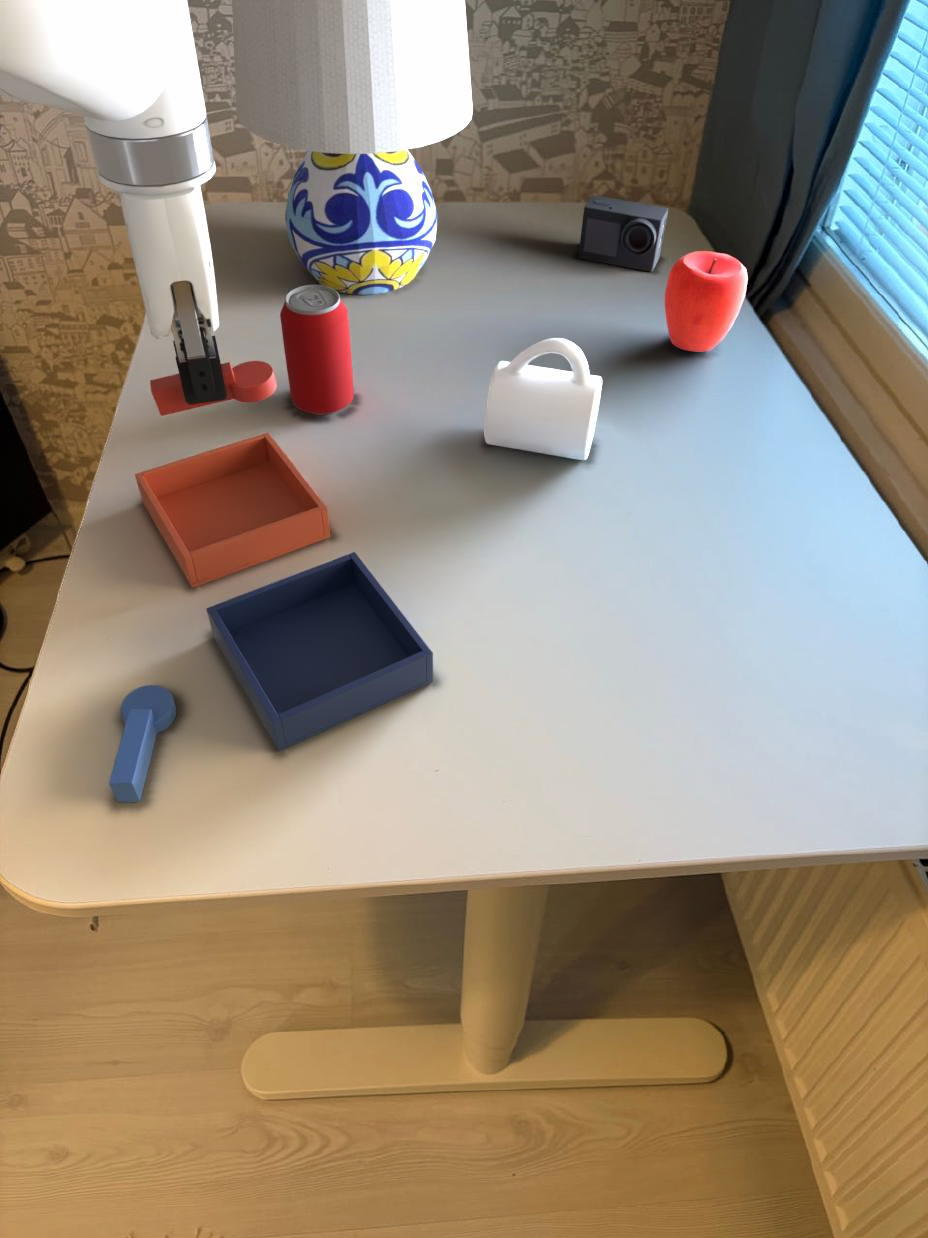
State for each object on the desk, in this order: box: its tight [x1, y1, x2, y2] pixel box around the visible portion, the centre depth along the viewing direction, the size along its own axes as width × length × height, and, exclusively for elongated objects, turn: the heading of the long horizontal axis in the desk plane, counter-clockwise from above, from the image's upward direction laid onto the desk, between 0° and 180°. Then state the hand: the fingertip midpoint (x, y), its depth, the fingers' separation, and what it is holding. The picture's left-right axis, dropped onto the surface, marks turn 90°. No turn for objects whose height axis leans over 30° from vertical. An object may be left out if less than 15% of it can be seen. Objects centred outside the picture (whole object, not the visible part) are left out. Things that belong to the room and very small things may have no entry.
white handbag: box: [483, 337, 603, 461], centre depth 90 cm, size 8×10×12 cm
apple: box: [664, 250, 749, 353], centre depth 104 cm, size 9×9×11 cm
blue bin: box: [205, 551, 434, 752], centre depth 72 cm, size 13×13×4 cm
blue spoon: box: [108, 684, 177, 803], centre depth 67 cm, size 10×4×2 cm, turn 2°
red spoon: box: [149, 360, 278, 417], centre depth 73 cm, size 10×4×2 cm, turn 106°
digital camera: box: [578, 194, 669, 273], centre depth 121 cm, size 10×5×7 cm, turn 70°
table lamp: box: [231, 0, 474, 296], centre depth 105 cm, size 27×27×40 cm
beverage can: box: [279, 284, 355, 416], centre depth 94 cm, size 7×7×12 cm
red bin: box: [134, 431, 331, 589], centre depth 84 cm, size 13×13×4 cm
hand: (205, 390), depth 73 cm, fingers closed on red spoon, 1 cm apart
